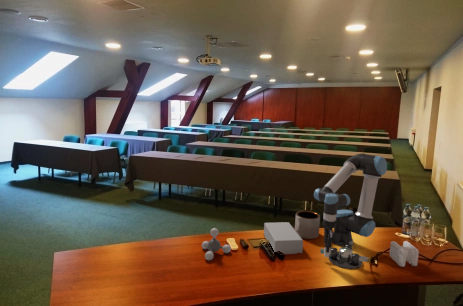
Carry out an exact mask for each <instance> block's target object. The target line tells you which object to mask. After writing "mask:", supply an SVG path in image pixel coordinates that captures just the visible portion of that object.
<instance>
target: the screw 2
mask: <svg viewBox="0 0 463 306" xmlns="http://www.w3.org/2000/svg"><path fill="white" fill-rule="evenodd" d="M359 261H362V263H368V264H371V257H369V256H363V255H360V254H359V253H355V252H353V253H352V258H351V264H352V265H354V266H358V265H359Z"/></svg>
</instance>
